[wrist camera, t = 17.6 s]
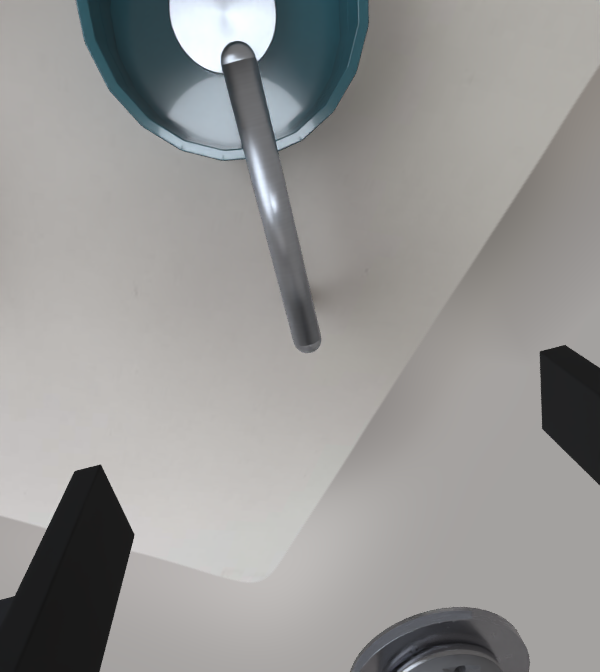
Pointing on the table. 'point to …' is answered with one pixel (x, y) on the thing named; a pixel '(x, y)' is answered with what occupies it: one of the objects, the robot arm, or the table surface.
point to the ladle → (253, 132)
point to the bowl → (209, 88)
